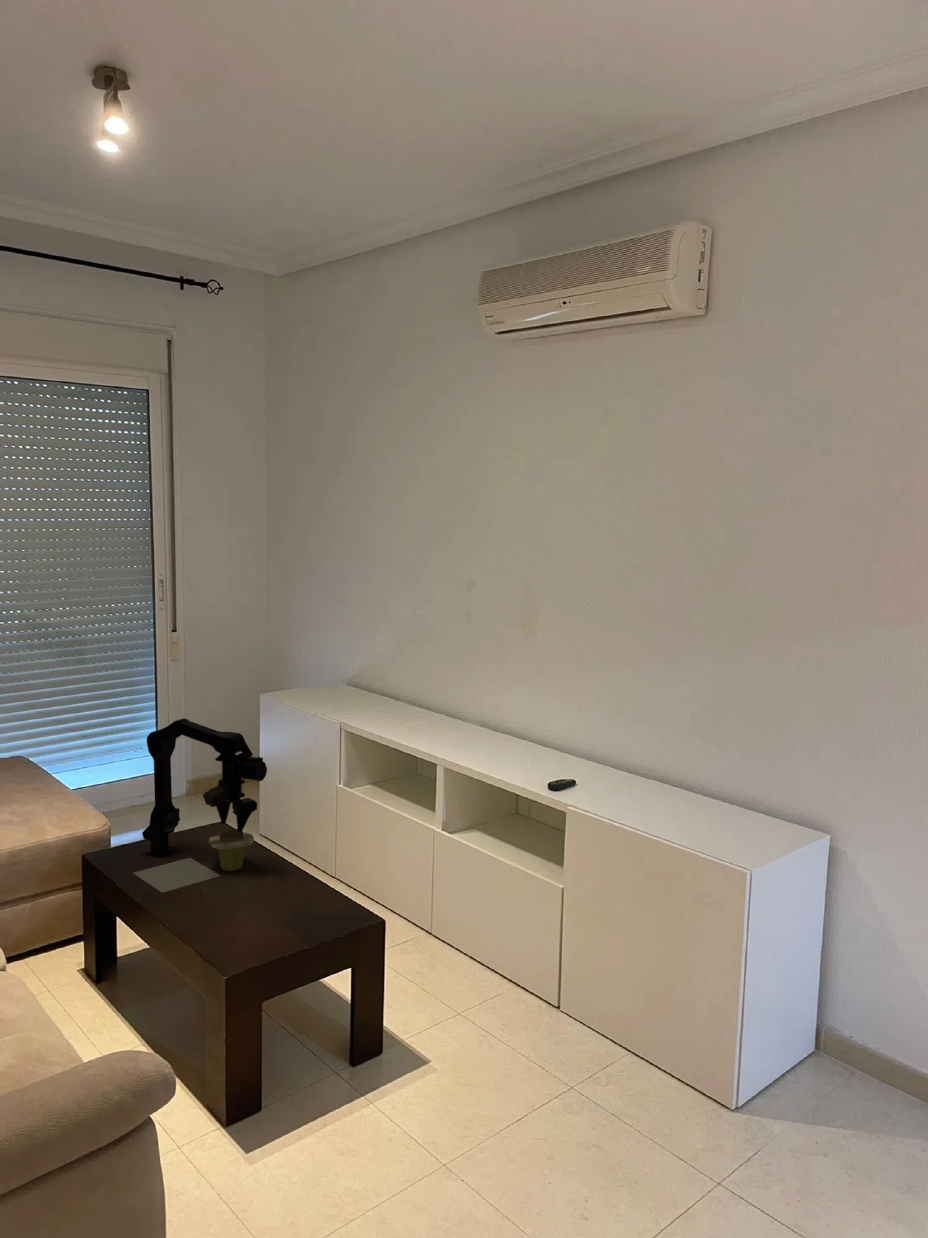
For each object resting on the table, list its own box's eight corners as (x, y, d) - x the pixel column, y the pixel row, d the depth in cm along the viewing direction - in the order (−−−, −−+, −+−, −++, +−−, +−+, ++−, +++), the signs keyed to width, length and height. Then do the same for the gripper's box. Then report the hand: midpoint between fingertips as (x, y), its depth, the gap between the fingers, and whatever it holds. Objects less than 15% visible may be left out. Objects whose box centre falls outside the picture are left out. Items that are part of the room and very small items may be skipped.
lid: (200, 840, 268) (200, 831, 268) (239, 831, 277) (239, 821, 277) (223, 853, 259) (223, 843, 259) (262, 842, 268) (262, 833, 268)
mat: (132, 876, 262) (132, 873, 262) (189, 860, 275) (189, 857, 275) (162, 896, 249) (162, 892, 249) (220, 879, 262) (220, 875, 262)
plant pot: (250, 874, 267) (250, 845, 266) (217, 877, 263) (217, 849, 262) (245, 862, 275) (245, 834, 274) (213, 865, 272) (213, 838, 271)
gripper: (191, 774, 267) (191, 825, 268) (224, 789, 254) (223, 842, 255) (224, 767, 274) (224, 817, 276) (258, 781, 261) (258, 833, 263)
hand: (231, 827), depth 268 cm, fingers open, 9 cm apart
